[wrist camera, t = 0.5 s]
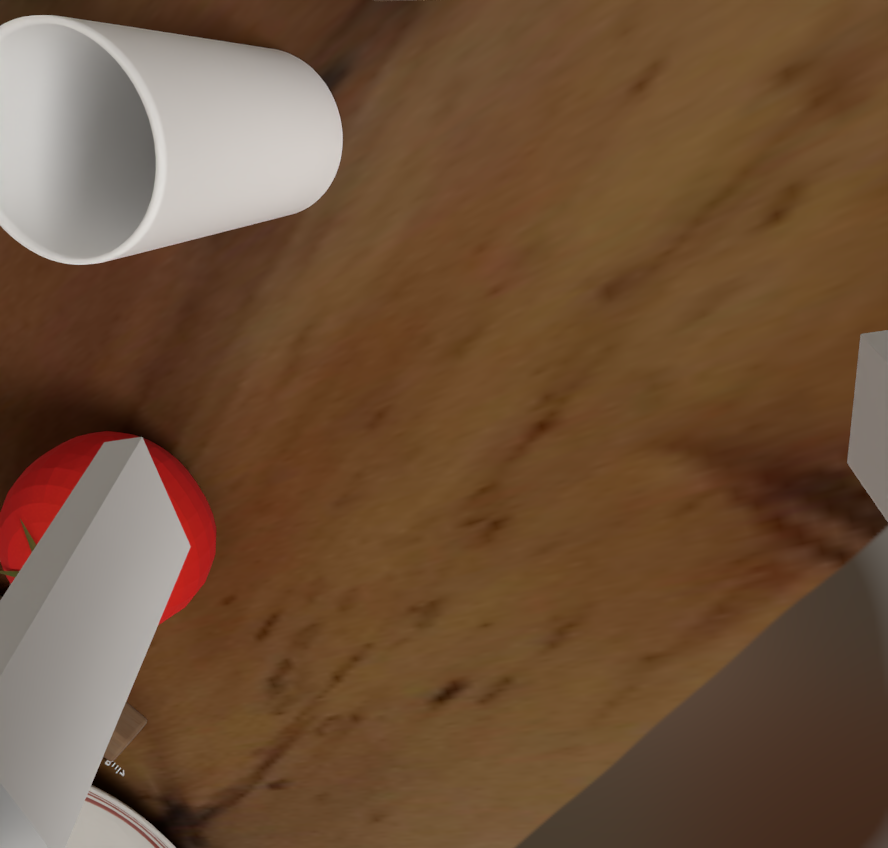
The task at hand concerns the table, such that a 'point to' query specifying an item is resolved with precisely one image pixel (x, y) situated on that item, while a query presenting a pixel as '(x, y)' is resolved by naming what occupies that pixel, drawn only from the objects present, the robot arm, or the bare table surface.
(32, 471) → the tomato
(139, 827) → the dinner plate
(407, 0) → the walnut block
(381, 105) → the table surface
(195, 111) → the cup
